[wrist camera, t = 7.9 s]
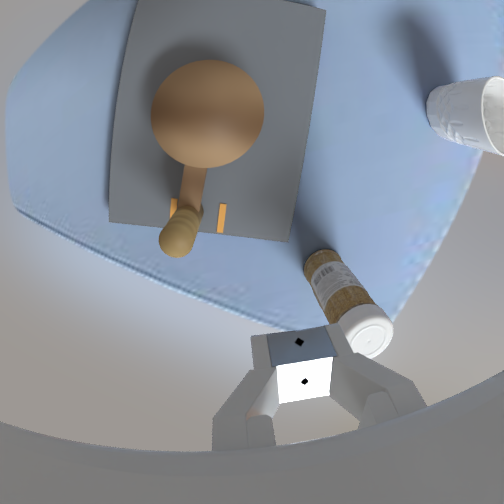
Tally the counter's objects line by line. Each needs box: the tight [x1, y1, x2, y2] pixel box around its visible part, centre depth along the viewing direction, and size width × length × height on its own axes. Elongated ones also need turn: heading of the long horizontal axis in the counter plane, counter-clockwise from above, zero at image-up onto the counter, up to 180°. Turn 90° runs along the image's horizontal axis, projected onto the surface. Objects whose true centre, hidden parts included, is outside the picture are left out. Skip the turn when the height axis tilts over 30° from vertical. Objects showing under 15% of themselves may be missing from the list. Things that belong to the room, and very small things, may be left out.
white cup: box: [426, 76, 504, 156], centre depth 22 cm, size 8×8×10 cm
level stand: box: [109, 0, 326, 242], centre depth 25 cm, size 24×18×2 cm
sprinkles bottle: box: [304, 249, 393, 359], centre depth 27 cm, size 5×5×14 cm
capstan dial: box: [151, 60, 264, 258], centre depth 21 cm, size 15×9×8 cm, turn 168°
